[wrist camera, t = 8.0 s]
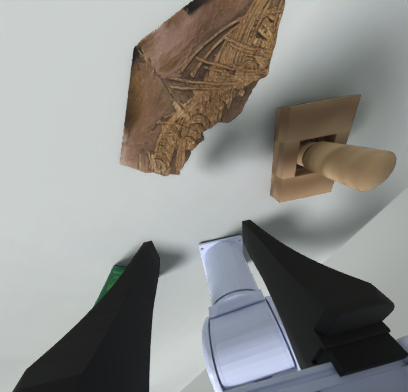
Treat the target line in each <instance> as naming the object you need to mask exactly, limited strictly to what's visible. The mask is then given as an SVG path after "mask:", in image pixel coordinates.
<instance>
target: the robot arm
mask: <svg viewBox="0 0 408 392" xmlns="http://www.w3.org/2000/svg"><path fill="white" fill-rule="evenodd" d="M242 229H243V239H242V236H241V235H238V236H233V237H229V238H224V239H219V240H215V241H210V242H206V243H201V244H199V249H200V254H201V258H202V262H203V266H204V270H205V274H206V277H207V280H208V286H209V292H210V298H211V304H212V306H211V307H209V315H210V316H209V317H207V318H206V319H205V322H204V325H203V329H202V345H203V353H204V359H205V364H206V369H207V372H208V375H209V378H210V381H211V383H212V385H213V388H214V391H215V392H408V336H404V337H402V338H399V339H397V340H395V339H394V338H393V337H392V336H391V335H390V334H389V332H390V329H389V328H388V327H387V326H386V325H385V324H384V323H383V322H382V321H383V320H384V319H385V318H386V317H387V316H388V315H389V314H390V313H391V312H392V311H393V310H394V303H393V302H392V301H391V300H390V299H388V298H387V297H386V296H385V295H384V294H383V293H381V292H380V291H379V290H378V289H377V288H376V287H375V286H373V285H372V284H371V283H368V282H365V281H363V280H360V279H358V278H355V277H352V276H349V275H347V274H344V273H341V272H339V271H337V270H334V269H331V268H329V267H327V266H324V265H323V264H320V263H318V262H316V261H314V260H312V259H310V258H308V257H306V256H304V255H302V254H300V253H298V252H296V251H295V250H293V249H291V248H289V247H288V246H286V245H284V244H283V243H281V242H280V241H278V240H277V239H275V238H274V237H272V236H271V235H269V234H268V233H267V232H265V231H264V230H263V229H261V228H260V227H259V226H257V225H256V224H255V223H253V222H252V221H251V220H246V221H242ZM243 242H244V244H245V246H246V249H247V251H248V253H249V255H250V257H251V259H252V260H253V262H254V264H255V266H256V268H257V269H258V271H259V273H260V275H261V277H262V278H263V280H264V282H265V284H266V287H267V289H268V291H269V293H270V296H271V297H270V296H266V297H265V298H264V296H263V293H262V291H261V290H260V289H259V288H258V286H257V284H256V282H255V280H254V278H253V275H252V273H251V271H250V269H249V267H248V264H247V262H246V260H245V258H244V256H243ZM159 268H160V257H159V255H158V253H157V251H156V249H155V247H154V244H153V242H152V241H149V242H144V243H143V245H142V246H141V247H140V249H139V250H138V252H137V253H136V255H135V256H134V258H133V259H132V261H131V262H130V263H129V265H128V266H127V268H126V269H125V270H124V272H123V273H122V274H121V276H120V277H119V278H118V280H117V281H116V282H115V283H114V285H113V286H112V287H111V288H110V289H109V291H108V292H107V293H106V294H105V295H104V296H103V297H102V299H101V300H100V301H99V302H98V303H97V304H96V305H95V306H94V307H93V308H92V309H91V310H90V311H89V312H88V313H87V314H86V316H85V317H84V318H83V319H82V320H81V321H80V322H79V323H78V324H76V325H75V326H74V327H73V328H72V329H71V330H70V331H69V332H68V333H67V334H66V335H65V336H64V337H63V338H62V339H61V340H59V341H58V342H57V343H56V344H55V345H54V346H53V347H52V348H51V349H49V350H48V351H47V352H46V353H45V354H44V355H43V356H41V357H40V358H39V359H38V360H37V361H36V362H35V363H33V364H32V365H31V366H30V367H29V368H27V369H26V371H25V372H24V374H23V375H22V377H21V379H20V380H19V382H18V384H17V385H16V387H15V388H14V390H13V392H149V370H150V345H151V329H152V316H153V307H154V300H155V295H156V289H157V283H158V277H159ZM265 299H266V300H265Z"/></svg>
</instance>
